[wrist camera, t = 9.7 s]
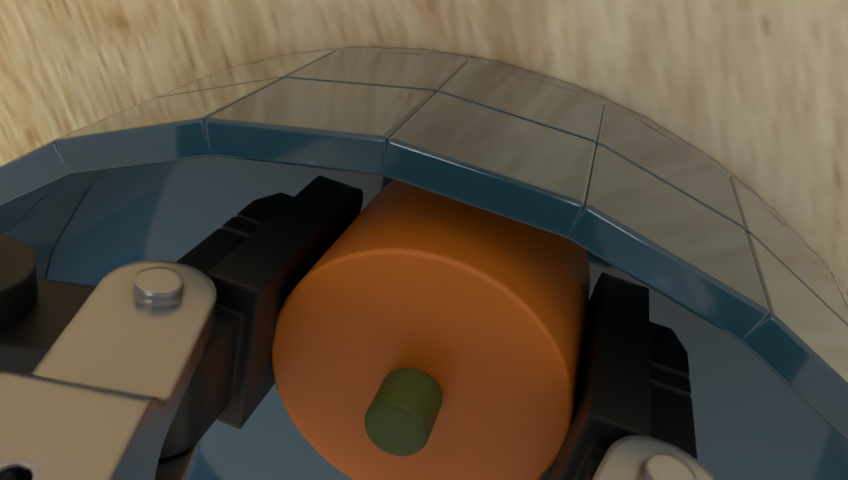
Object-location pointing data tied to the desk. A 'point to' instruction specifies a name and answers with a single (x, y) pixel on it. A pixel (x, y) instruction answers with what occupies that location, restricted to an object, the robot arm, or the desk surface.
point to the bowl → (478, 187)
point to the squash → (435, 343)
